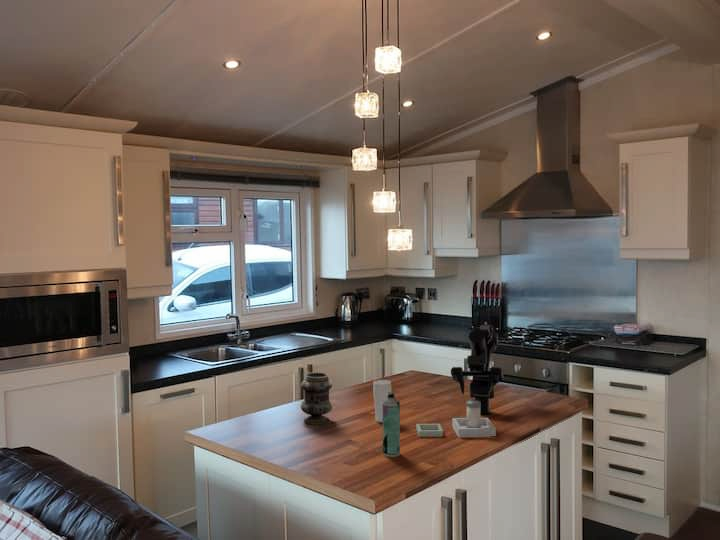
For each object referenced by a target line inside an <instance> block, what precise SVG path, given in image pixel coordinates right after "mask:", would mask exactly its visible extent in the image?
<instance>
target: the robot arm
mask: <svg viewBox="0 0 720 540" xmlns="http://www.w3.org/2000/svg"><path fill="white" fill-rule="evenodd" d="M498 335H499V334H498V332H497V331H496V330H495V329H494V328H493V325H492V324H480V326H479V328H478V327H475V328H472V329H471V331H470V333H469V334H468V340H469V345H470V349H471V352H470V355H467V359H466V360H467V368H468V369H469V370H463V367H462V366H453V367H451V369H450V374H451V377H452V380H453V381H455V382H457V383H459V387H460V390H461V394H462V395H464V394H465V380H464V379H465V377H472V380H471V381H470V384H469V395H470V396H469V397H470V398H473V400H478V401H480V402H481V407H480V415H492V411H491V410H490V400H491V399H494V398H495V386H496V385H497V384H499V383H500V382H503V381H504V372H503V369H502V367H499V366H497V367H496V366H495V367H494V366H491V367H490V365H491V359H492V358H491V357H492V355H493V353H494V352H496V351H497V347H498V346H499V337H498Z"/></svg>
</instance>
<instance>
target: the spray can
mask: <svg viewBox="0 0 720 540" xmlns="http://www.w3.org/2000/svg"><path fill="white" fill-rule="evenodd" d="M400 405H401V404H400V399H398V398H396V396H395V393H394V392H392V391H391V393H388V396H387V398H386V399H384V400H383V423H382V455H383V456H384V457H388V458H397V457H399V456H400V455H401V444H400V443H401V441H400V440H401V434H400V433H401V430H400V428H401V423H400V422H401V418H400V417H401V416H400V415H401V409H400V408H401V407H400Z"/></svg>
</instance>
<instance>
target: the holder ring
mask: <svg viewBox="0 0 720 540" xmlns="http://www.w3.org/2000/svg"><path fill="white" fill-rule="evenodd" d="M415 426H416V427H415V430H416V432H417V435H418V438H432V437H433V438H438V437H439V438H440V437H442V436H443V437H444V430H443V428H442V425H441V424H440V423H416V424H415ZM443 437H442V438H443Z"/></svg>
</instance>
